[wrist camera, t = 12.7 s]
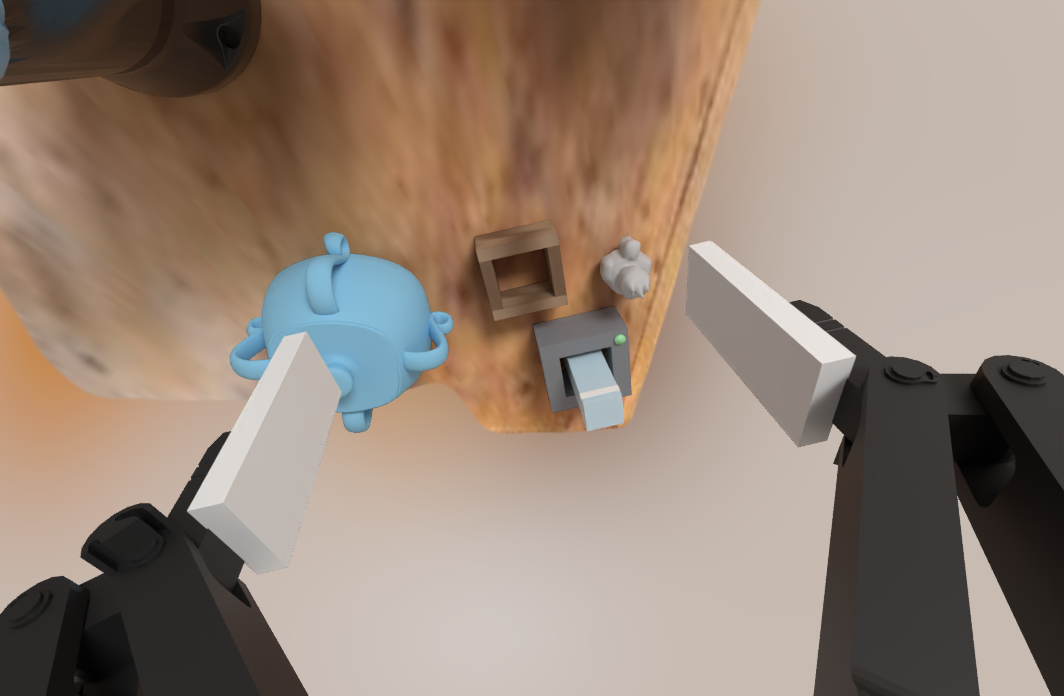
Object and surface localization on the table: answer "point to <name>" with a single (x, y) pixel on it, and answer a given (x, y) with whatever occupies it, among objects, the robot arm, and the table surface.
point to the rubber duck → (627, 269)
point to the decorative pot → (350, 326)
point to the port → (582, 351)
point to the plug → (595, 390)
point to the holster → (516, 243)
